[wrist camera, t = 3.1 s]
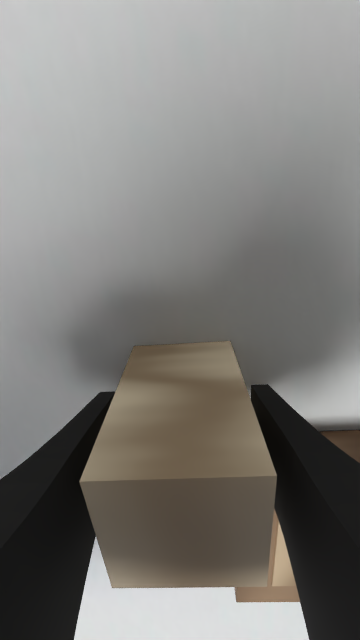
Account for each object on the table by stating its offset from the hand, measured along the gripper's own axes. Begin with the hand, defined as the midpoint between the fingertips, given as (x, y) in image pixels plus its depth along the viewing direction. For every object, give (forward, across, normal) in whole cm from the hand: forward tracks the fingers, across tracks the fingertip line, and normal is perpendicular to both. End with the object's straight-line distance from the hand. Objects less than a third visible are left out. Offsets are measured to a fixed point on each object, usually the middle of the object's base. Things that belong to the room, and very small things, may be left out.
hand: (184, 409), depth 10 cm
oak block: (+2, 0, 0) cm, 2 cm away
